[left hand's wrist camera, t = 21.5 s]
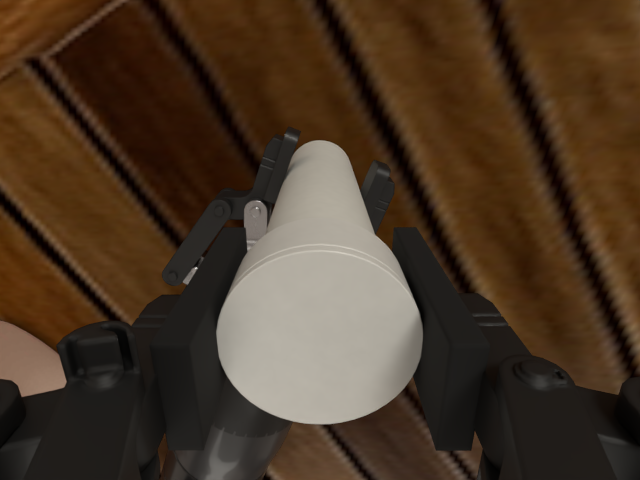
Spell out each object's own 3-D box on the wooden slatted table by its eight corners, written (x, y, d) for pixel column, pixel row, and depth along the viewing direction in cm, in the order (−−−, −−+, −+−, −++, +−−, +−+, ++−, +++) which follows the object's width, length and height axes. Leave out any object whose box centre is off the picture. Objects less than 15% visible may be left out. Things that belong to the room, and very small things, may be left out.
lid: (255, 195, 11) (239, 224, 9) (431, 243, 12) (457, 282, 9) (219, 346, 13) (198, 401, 11) (372, 382, 13) (383, 441, 11)
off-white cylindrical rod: (279, 187, 28) (216, 358, 11) (303, 129, 27) (274, 224, 10) (335, 211, 29) (356, 409, 12) (362, 156, 28) (431, 289, 10)
